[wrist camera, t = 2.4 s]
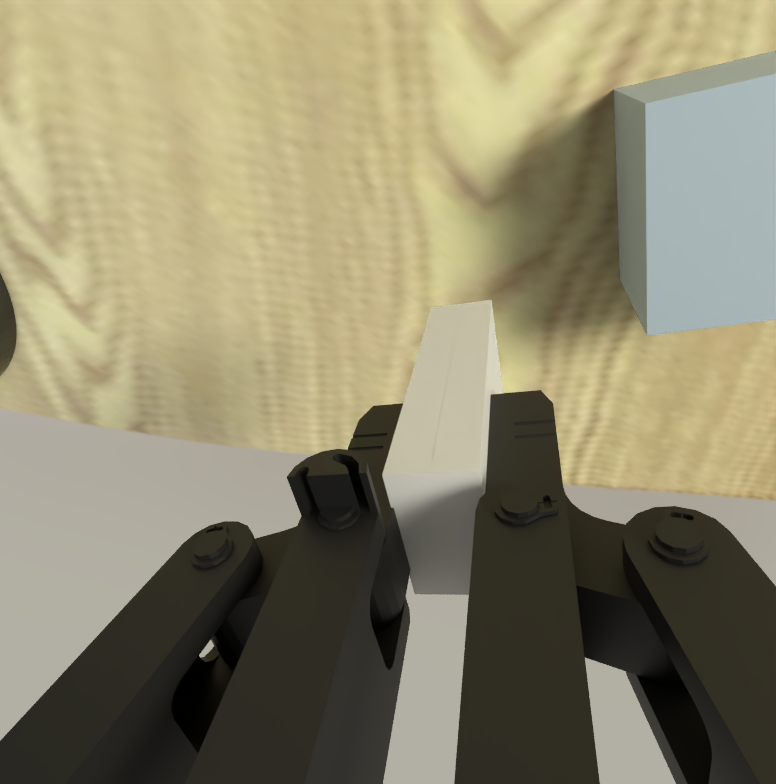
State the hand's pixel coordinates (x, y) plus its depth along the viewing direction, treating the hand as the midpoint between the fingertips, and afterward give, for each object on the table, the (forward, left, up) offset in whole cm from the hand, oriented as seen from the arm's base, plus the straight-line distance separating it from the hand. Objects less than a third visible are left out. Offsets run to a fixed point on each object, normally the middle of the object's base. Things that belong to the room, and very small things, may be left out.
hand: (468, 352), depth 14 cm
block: (+9, 0, -13) cm, 16 cm away
